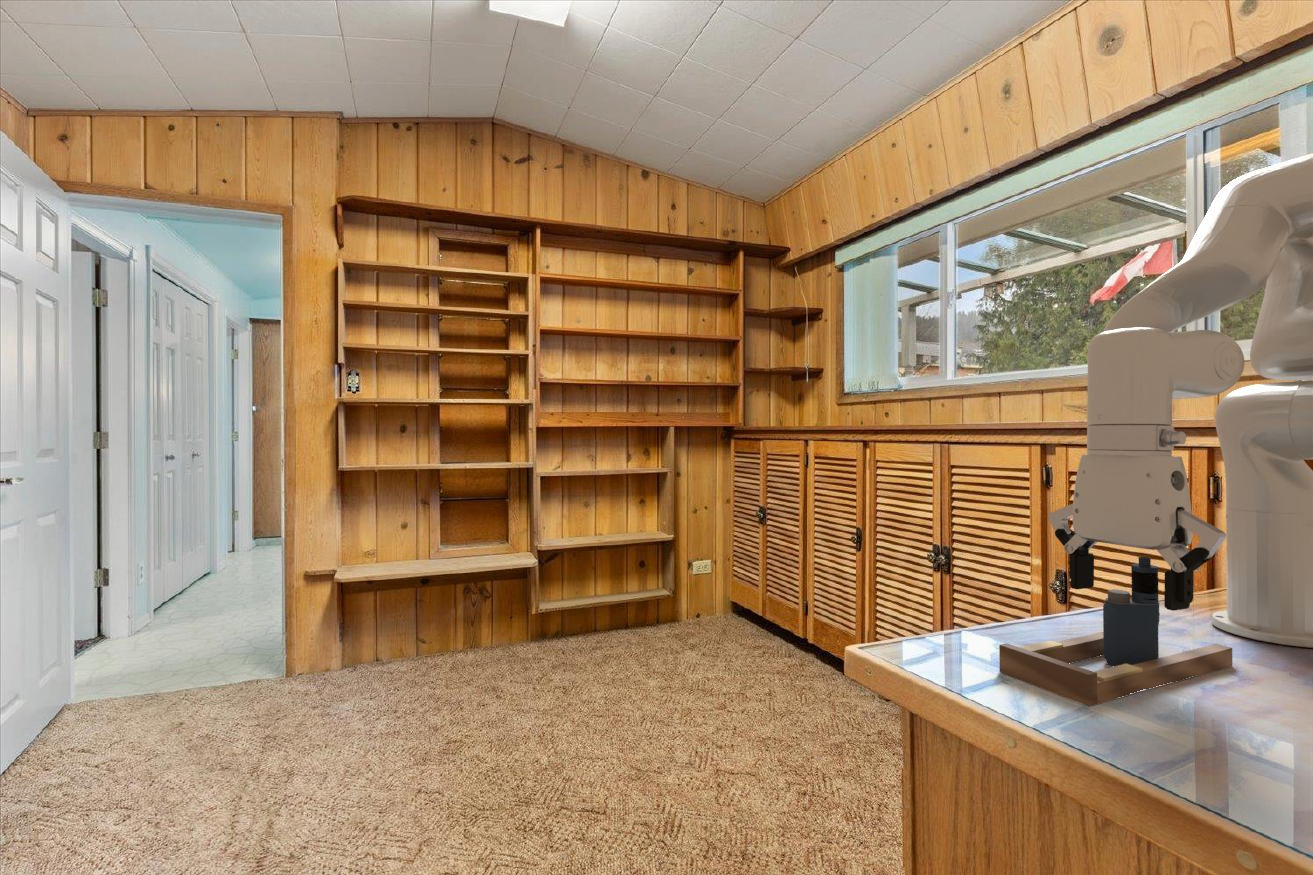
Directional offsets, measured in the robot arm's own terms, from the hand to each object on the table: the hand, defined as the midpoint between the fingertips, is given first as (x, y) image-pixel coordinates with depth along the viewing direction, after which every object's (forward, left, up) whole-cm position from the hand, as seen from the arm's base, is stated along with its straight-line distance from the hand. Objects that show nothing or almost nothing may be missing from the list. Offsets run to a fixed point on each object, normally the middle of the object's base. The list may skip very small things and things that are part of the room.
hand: (1126, 597), depth 70 cm
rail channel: (+1, 0, -8) cm, 8 cm away
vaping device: (-1, 0, -8) cm, 8 cm away
